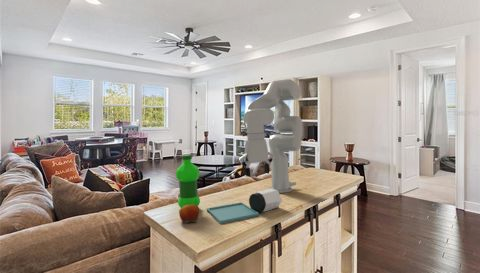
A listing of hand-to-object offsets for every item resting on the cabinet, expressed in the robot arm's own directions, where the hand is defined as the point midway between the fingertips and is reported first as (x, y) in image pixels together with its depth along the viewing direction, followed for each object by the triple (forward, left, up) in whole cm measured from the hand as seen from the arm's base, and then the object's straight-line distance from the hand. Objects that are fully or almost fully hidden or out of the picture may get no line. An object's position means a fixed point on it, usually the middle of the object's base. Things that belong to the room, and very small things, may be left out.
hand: (257, 174), depth 117 cm
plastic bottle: (+29, -14, -15) cm, 35 cm away
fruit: (+32, 0, -15) cm, 35 cm away
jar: (-7, +2, -11) cm, 13 cm away
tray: (+14, +1, -15) cm, 20 cm away
